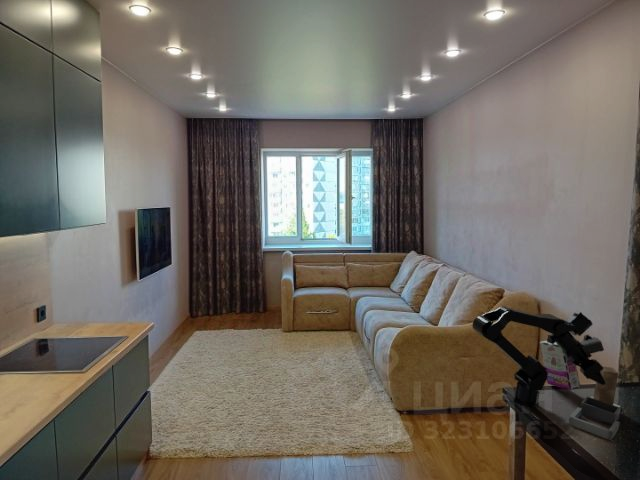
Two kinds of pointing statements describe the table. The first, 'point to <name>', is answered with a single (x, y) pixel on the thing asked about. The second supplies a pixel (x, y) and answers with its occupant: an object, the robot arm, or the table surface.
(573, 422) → the grey shallow tray
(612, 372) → the walnut block
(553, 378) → the candy bar box
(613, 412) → the trap bin
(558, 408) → the table surface
